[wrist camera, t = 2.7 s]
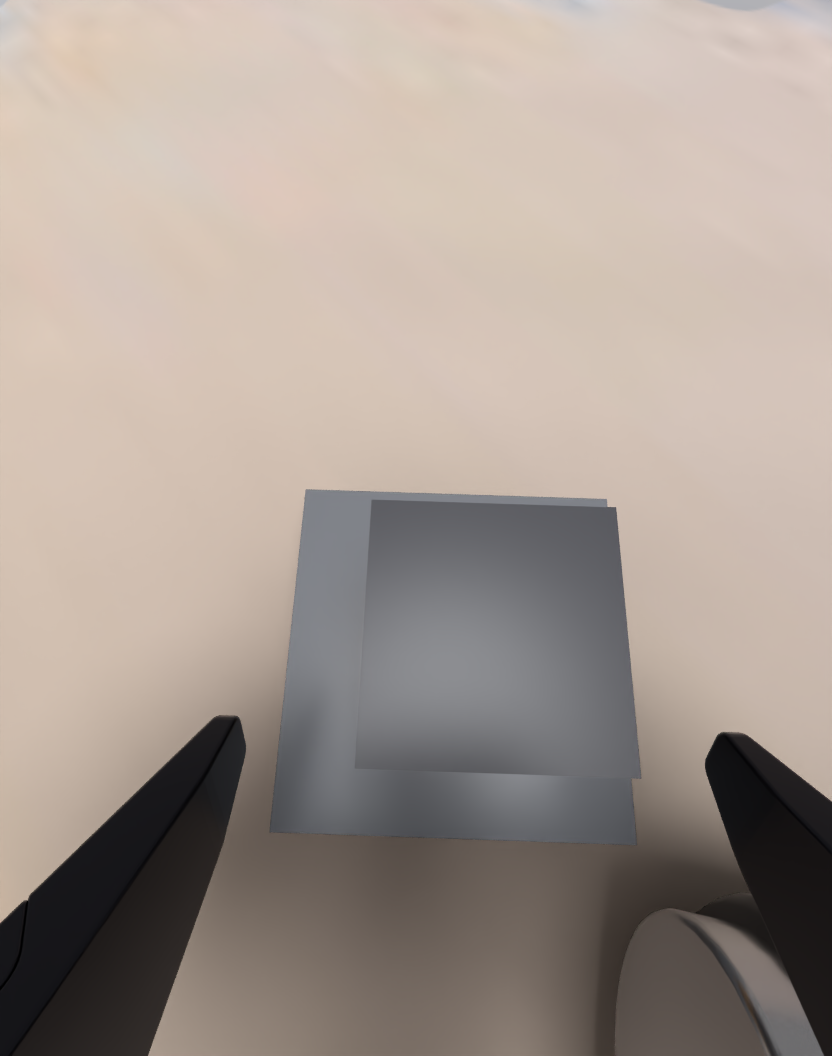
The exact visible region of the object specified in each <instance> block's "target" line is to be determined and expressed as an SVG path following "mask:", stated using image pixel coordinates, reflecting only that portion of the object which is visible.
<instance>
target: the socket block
mask: <svg viewBox="0 0 832 1056" xmlns="http://www.w3.org/2000/svg"><path fill="white" fill-rule="evenodd" d="M371 500H402V501H433V502H464V503H494V504H525V505H556V506H587V507H607V499H586V498H555V497H524V496H493V495H462V494H432V493H401V492H370V491H339V490H308V489H306V492H305V502H304V511H303V520H302V530H301V539H300V549H299V558H298V568H297V577H296V587H295V596H294V605H293V615H292V624H291V634H290V643H289V653H288V662H287V672H286V681H285V691H284V700H283V709H282V719H281V728H280V738H279V747H278V757H277V766H276V776H275V785H274V794H273V804H272V813H271V823H270V832H278V833H307V834H335V835H363V836H391V837H419V838H447V839H475V840H503V841H531V842H560V843H588V844H616V845H637V840H636V828H635V817H634V805H633V794H632V783H631V778H608V777H580V776H551V775H522V774H494V773H465V772H437V771H408V770H379V769H355V754H356V738H357V722H358V706H359V690H360V674H361V659H362V643H363V627H364V611H365V595H366V579H367V564H368V548H369V532H370V516H371Z"/></svg>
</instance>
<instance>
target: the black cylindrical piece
mask: <svg viewBox="0 0 832 1056" xmlns="http://www.w3.org/2000/svg"><path fill="white" fill-rule="evenodd" d="M615 1056H824V1055H823V1053H822V1051H821V1048H820V1046H819V1044H818V1042H817V1039H816V1037H815V1035H814V1033H813V1030H812V1028H811V1026H810V1024H809V1022H808V1019H807V1017H806V1015H805V1013H804V1010H803V1008H802V1006H801V1004H800V1001H799V999H798V997H797V995H796V992H795V990H794V988H793V986H792V984H791V981H790V979H789V977H788V975H787V972H786V970H785V968H784V966H783V963H782V961H781V959H780V957H779V955H778V952H777V950H776V948H775V946H774V943H773V941H772V939H771V937H770V934H769V932H768V930H767V928H766V926H765V923H764V921H763V919H762V917H761V914H760V912H759V910H758V908H757V905H756V903H755V901H754V899H753V897H752V894H751V893H744V892H742V893H736V894H732V895H728V896H724V897H721V898H718V899H716V900H715V901H713V902H711V903H710V904H708V905H707V906H705V907H704V908H702V909H701V910H699V911H698V912H696V913H691V912H687V911H682V910H678V909H674V908H666V909H662V910H659V911H655V912H652V913H650V914H649V915H648V916H647V917H646V918H645V919H643V920H642V921H641V922H640V923H639V925H638V927H637V929H636V930H635V932H634V934H633V935H632V937H631V939H630V942H629V945H628V948H627V951H626V953H625V956H624V960H623V964H622V969H621V974H620V979H619V985H618V994H617V1003H616V1017H615Z"/></svg>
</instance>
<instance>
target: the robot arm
mask: <svg viewBox="0 0 832 1056" xmlns="http://www.w3.org/2000/svg"><path fill="white" fill-rule="evenodd" d="M245 752H246V743H245V739H244V734H243V730H242V725H241V721H240V719H239V717H238V716H230V715H219V716H216V717H214V718H213V719H212V720H211V721H210V722H209V723H208V724H207V725H206V726H205V727H203V728H202V729H201V730H200V731H199V732H198V733H197V734H196V735H195V736H194V737H193V738H192V739H191V740H190V741H189V742H188V743H187V744H186V745H185V746H184V747H183V748H182V749H181V750H180V751H179V752H178V753H177V754H175V755H174V756H173V757H172V758H171V759H170V760H169V761H168V762H167V763H166V764H165V765H164V766H163V767H162V768H161V769H160V770H159V771H158V772H157V773H156V774H155V775H154V776H153V777H152V778H151V779H150V780H149V781H147V782H146V783H145V784H144V785H143V786H142V787H141V788H140V789H139V790H138V791H137V792H136V793H135V794H134V795H133V796H132V797H131V798H130V799H129V800H128V801H127V802H126V803H125V804H124V805H123V806H122V807H120V808H119V809H118V810H117V811H116V812H115V813H114V814H113V815H112V816H111V817H110V818H109V819H108V820H107V821H106V822H105V823H104V824H103V825H102V826H101V827H100V828H99V829H98V830H97V831H96V832H95V833H94V834H92V835H91V836H90V837H89V838H88V839H87V840H86V841H85V842H84V843H83V844H82V845H81V846H80V847H79V848H78V849H77V850H76V851H75V852H74V853H73V854H72V855H71V856H70V857H69V858H68V859H67V860H66V861H64V862H63V863H62V864H61V865H60V866H59V867H58V868H57V869H56V870H55V871H54V872H53V873H52V874H51V875H50V876H49V877H48V878H47V879H46V880H45V881H44V882H43V883H42V884H41V885H40V886H39V887H38V888H36V889H35V890H34V891H33V892H32V893H31V894H30V896H29V898H28V901H27V900H25V901H23V902H22V903H21V904H20V905H19V906H18V907H16V908H15V909H14V910H13V911H12V912H11V913H10V914H9V915H8V916H7V917H6V918H5V919H4V920H3V921H2V922H1V923H0V1056H148V1054H149V1051H150V1048H151V1045H152V1042H153V1040H154V1037H155V1034H156V1031H157V1028H158V1026H159V1023H160V1020H161V1017H162V1014H163V1012H164V1009H165V1006H166V1003H167V1000H168V998H169V995H170V992H171V989H172V986H173V984H174V981H175V978H176V975H177V972H178V969H179V967H180V964H181V961H182V958H183V955H184V953H185V950H186V947H187V944H188V941H189V939H190V936H191V933H192V930H193V927H194V925H195V922H196V919H197V916H198V913H199V911H200V908H201V905H202V902H203V899H204V896H205V894H206V891H207V888H208V885H209V882H210V880H211V877H212V874H213V871H214V868H215V866H216V863H217V860H218V857H219V854H220V851H221V848H222V845H223V842H224V838H225V834H226V831H227V827H228V823H229V819H230V815H231V811H232V806H233V802H234V798H235V794H236V790H237V786H238V782H239V778H240V774H241V770H242V766H243V762H244V758H245ZM705 769H706V774H707V777H708V780H709V783H710V786H711V788H712V791H713V794H714V797H715V800H716V803H717V806H718V809H719V812H720V815H721V818H722V820H723V823H724V826H725V829H726V832H727V835H728V838H729V841H730V844H731V847H732V849H733V852H734V855H735V857H736V860H737V862H738V865H739V867H740V869H741V872H742V874H743V876H744V879H745V881H746V883H747V885H748V888H749V890H750V892H751V894H752V897H753V899H754V901H755V903H756V905H757V908H758V910H759V912H760V914H761V917H762V919H763V921H764V923H765V926H766V928H767V930H768V932H769V934H770V937H771V939H772V941H773V943H774V946H775V948H776V950H777V952H778V955H779V957H780V959H781V961H782V963H783V966H784V968H785V970H786V972H787V975H788V977H789V979H790V981H791V984H792V986H793V988H794V990H795V992H796V995H797V997H798V999H799V1001H800V1004H801V1006H802V1008H803V1010H804V1013H805V1015H806V1017H807V1019H808V1022H809V1024H810V1026H811V1028H812V1030H813V1033H814V1035H815V1037H816V1039H817V1042H818V1044H819V1046H820V1048H821V1051H822V1053H823V1055H824V1056H832V801H830V800H829V799H828V798H827V797H825V796H824V795H823V794H821V793H820V792H819V791H818V790H816V789H815V788H814V787H813V786H811V785H810V784H809V783H807V782H806V781H805V780H804V779H802V778H801V777H800V776H799V775H797V774H796V773H795V772H793V771H792V770H791V769H790V768H788V767H787V766H786V765H785V764H783V763H782V762H781V761H779V760H778V759H777V758H776V757H774V756H773V755H772V754H771V753H769V752H768V751H767V750H765V749H764V748H763V747H762V746H760V745H759V744H758V743H757V742H755V741H754V740H753V739H751V738H750V737H749V736H747V735H745V734H743V733H737V732H721V733H720V734H718V735H717V737H716V739H715V741H714V743H713V745H712V747H711V749H710V751H709V753H708V755H707V757H706V760H705Z"/></svg>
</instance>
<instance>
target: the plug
mask: <svg viewBox="0 0 832 1056" xmlns="http://www.w3.org/2000/svg"><path fill="white" fill-rule="evenodd" d="M355 769H379V770H408V771H437V772H465V773H494V774H522V775H551V776H580V777H608V778H637V779H641V771H640V760H639V749H638V738H637V728H636V717H635V706H634V695H633V685H632V674H631V663H630V652H629V641H628V631H627V620H626V609H625V598H624V588H623V577H622V566H621V555H620V545H619V534H618V523H617V512H616V507H587V506H556V505H525V504H494V503H464V502H433V501H402V500H371V516H370V532H369V548H368V564H367V579H366V595H365V611H364V627H363V643H362V659H361V674H360V690H359V706H358V722H357V738H356V754H355Z"/></svg>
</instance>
